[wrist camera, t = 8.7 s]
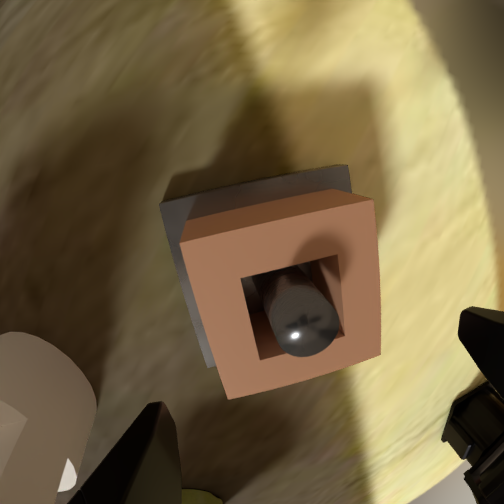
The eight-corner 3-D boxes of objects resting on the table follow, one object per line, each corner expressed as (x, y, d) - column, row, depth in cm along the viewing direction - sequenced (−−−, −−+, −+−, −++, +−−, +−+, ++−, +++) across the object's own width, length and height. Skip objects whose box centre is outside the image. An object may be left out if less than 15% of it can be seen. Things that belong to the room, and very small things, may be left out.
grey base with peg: (339, 164, 15) (415, 171, 9) (355, 318, 18) (412, 381, 12) (161, 201, 15) (132, 230, 9) (207, 357, 17) (212, 442, 11)
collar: (332, 188, 15) (373, 199, 11) (346, 315, 17) (380, 354, 13) (186, 220, 14) (179, 243, 10) (221, 349, 16) (228, 399, 13)
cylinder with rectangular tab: (39, 311, 15) (-71, 458, 4) (122, 418, 18) (96, 574, 7) (-29, 352, 15) (-109, 457, 4) (43, 438, 18) (3, 553, 7)
